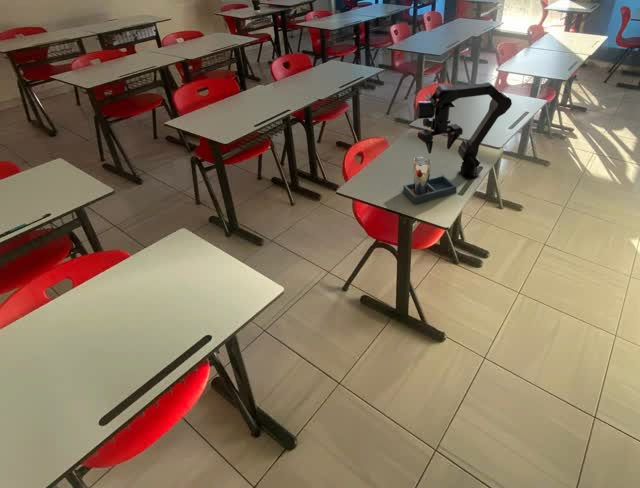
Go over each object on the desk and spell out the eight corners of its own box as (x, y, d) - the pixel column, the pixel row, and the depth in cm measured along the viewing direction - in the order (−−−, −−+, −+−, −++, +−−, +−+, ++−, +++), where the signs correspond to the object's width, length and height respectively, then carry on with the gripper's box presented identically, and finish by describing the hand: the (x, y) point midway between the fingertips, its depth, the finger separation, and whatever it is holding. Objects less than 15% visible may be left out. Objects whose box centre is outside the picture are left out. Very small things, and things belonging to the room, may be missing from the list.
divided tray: (442, 181, 180) (443, 175, 178) (455, 192, 172) (456, 186, 171) (403, 191, 173) (403, 185, 171) (414, 204, 165) (415, 197, 164)
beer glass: (427, 187, 174) (429, 156, 166) (430, 197, 168) (432, 164, 160) (410, 188, 173) (412, 156, 166) (413, 197, 167) (414, 165, 160)
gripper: (450, 106, 178) (447, 139, 186) (411, 113, 171) (410, 147, 179) (465, 115, 169) (461, 149, 177) (425, 123, 162) (423, 158, 170)
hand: (438, 151), depth 176 cm, fingers open, 9 cm apart
